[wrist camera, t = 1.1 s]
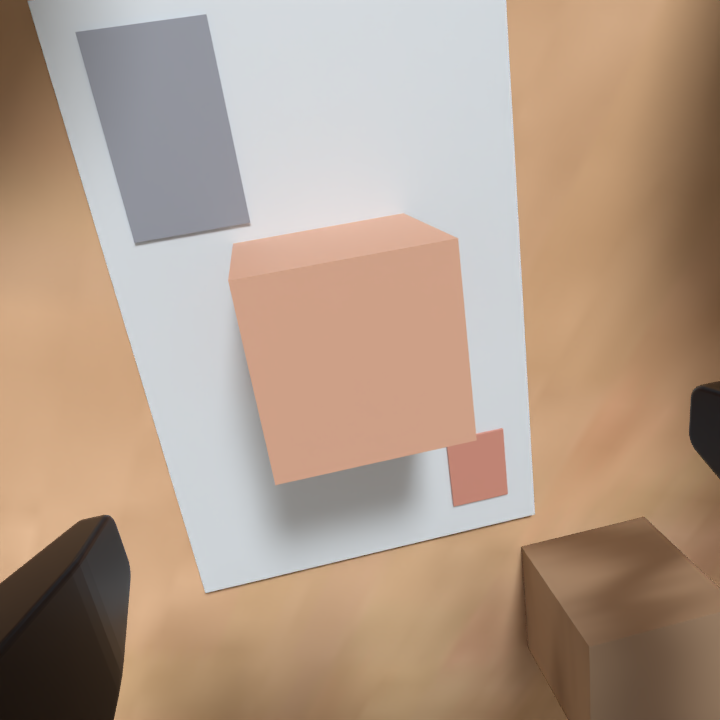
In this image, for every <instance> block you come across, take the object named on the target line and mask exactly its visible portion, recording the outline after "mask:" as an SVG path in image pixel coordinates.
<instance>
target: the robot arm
mask: <svg viewBox="0 0 720 720" xmlns="http://www.w3.org/2000/svg"><path fill="white" fill-rule="evenodd" d="M689 436H690V440H691V443H692V445H693V447H694V449H695V450H696V451H697V452H698V454H699V455H700V456H701V457H702V458H703V460H704V461H705V462H706V463H707V464H708V466H709V467H710V468H711V469H712V470H713V472H714V473H715V474H716V475H717V476H718V478H719V479H720V381H718V382H713V383H708V384H704V385H700V386H697V387H696V388H695V389H694V390H693V392H692V394H691V406H690V425H689ZM130 578H131V575H130V565H129V561H128V558H127V555H126V552H125V549H124V546H123V543H122V541H121V538H120V535H119V532H118V529H117V526H116V524H115V521H114V520H113V518H112V517H111V516H109V515H102V516H97V517H92V518H88V519H83V520H81V521H79V522H77V523H76V524H75V525H73V526H72V527H71V528H70V529H68V530H67V531H66V532H65V533H63V534H62V535H61V536H60V537H58V538H57V539H56V540H55V541H53V542H52V543H51V544H49V545H48V546H47V547H46V548H44V549H43V550H42V551H41V552H39V553H38V554H37V555H36V556H34V557H33V558H32V559H31V560H29V561H28V562H27V563H25V564H24V565H23V566H22V567H20V568H19V569H18V570H17V571H15V572H14V573H13V574H12V575H10V576H9V577H8V578H7V579H5V580H4V581H3V582H1V583H0V720H114V716H115V711H116V706H117V701H118V697H119V691H120V686H121V680H122V673H123V663H124V652H125V640H126V628H127V616H128V603H129V591H130Z"/></svg>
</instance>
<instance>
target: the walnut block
mask: <svg viewBox="0 0 720 720" xmlns="http://www.w3.org/2000/svg"><path fill="white" fill-rule="evenodd" d="M521 548H522V563H523V578H524V593H525V609H526V624H527V639H528V648H529V650H530V652H531V654H532V655H533V657H534V659H535V661H536V662H537V664H538V666H539V668H540V670H541V671H542V673H543V675H544V677H545V679H546V680H547V682H548V684H549V686H550V688H551V689H552V691H553V693H554V695H555V697H556V698H557V700H558V702H559V704H560V706H561V707H562V709H563V711H564V713H565V715H566V716H567V718H568V720H720V588H719V587H718V586H717V585H716V584H715V583H714V582H713V581H711V580H710V579H709V578H708V577H707V576H706V575H705V574H704V573H703V572H702V571H701V570H700V569H699V568H698V567H697V566H696V565H695V564H693V563H692V562H691V561H690V560H689V559H688V558H687V557H686V556H685V555H684V554H683V553H682V552H681V551H680V550H679V549H678V548H677V547H676V546H674V545H673V544H672V543H671V542H670V541H669V540H668V539H667V538H666V537H665V536H664V535H663V534H662V533H661V532H660V531H659V530H658V529H656V528H655V527H654V526H653V525H652V524H651V523H650V522H649V521H648V520H647V519H646V518H645V517H641V518H637V519H633V520H629V521H625V522H621V523H617V524H613V525H609V526H604V527H600V528H596V529H592V530H588V531H584V532H580V533H576V534H572V535H568V536H563V537H559V538H555V539H551V540H547V541H543V542H539V543H535V544H531V545H527V546H522V547H521Z"/></svg>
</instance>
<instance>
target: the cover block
mask: <svg viewBox="0 0 720 720" xmlns="http://www.w3.org/2000/svg"><path fill="white" fill-rule="evenodd" d="M228 282H229V287H230V291H231V295H232V300H233V304H234V308H235V313H236V317H237V321H238V326H239V330H240V334H241V339H242V343H243V347H244V352H245V356H246V360H247V365H248V369H249V373H250V378H251V382H252V386H253V390H254V395H255V399H256V403H257V408H258V412H259V416H260V421H261V425H262V429H263V434H264V438H265V442H266V447H267V451H268V455H269V460H270V464H271V468H272V473H273V477H274V481H275V485H279V484H283V483H288V482H292V481H297V480H301V479H306V478H310V477H315V476H319V475H324V474H328V473H333V472H337V471H342V470H346V469H351V468H355V467H360V466H364V465H368V464H373V463H377V462H382V461H386V460H391V459H395V458H400V457H404V456H409V455H413V454H418V453H422V452H427V451H431V450H436V449H440V448H445V447H449V446H454V445H458V444H463V443H467V442H472V441H476V440H477V438H476V427H475V416H474V406H473V395H472V384H471V373H470V362H469V351H468V340H467V329H466V318H465V308H464V297H463V286H462V275H461V264H460V253H459V242H458V238H456V237H454V236H452V235H450V234H448V233H446V232H443V231H441V230H439V229H437V228H435V227H432V226H430V225H428V224H426V223H424V222H422V221H419V220H417V219H415V218H413V217H411V216H408V215H406V214H404V213H402V214H396V215H391V216H385V217H379V218H374V219H368V220H363V221H357V222H351V223H346V224H340V225H335V226H329V227H323V228H318V229H312V230H306V231H301V232H295V233H290V234H284V235H278V236H273V237H267V238H262V239H256V240H250V241H245V242H239V243H233V247H232V255H231V263H230V270H229V278H228Z"/></svg>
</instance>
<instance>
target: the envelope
mask: <svg viewBox="0 0 720 720" xmlns="http://www.w3.org/2000/svg"><path fill="white" fill-rule="evenodd" d="M28 5H29V8H30V11H31V14H32V18H33V21H34V24H35V28H36V31H37V34H38V38H39V41H40V44H41V48H42V51H43V54H44V58H45V61H46V64H47V68H48V71H49V74H50V78H51V81H52V84H53V88H54V91H55V94H56V98H57V101H58V104H59V108H60V111H61V114H62V118H63V121H64V124H65V128H66V131H67V134H68V138H69V141H70V144H71V147H72V151H73V154H74V157H75V161H76V164H77V167H78V171H79V174H80V177H81V181H82V184H83V187H84V191H85V194H86V197H87V201H88V204H89V207H90V211H91V214H92V217H93V221H94V224H95V227H96V231H97V234H98V237H99V241H100V244H101V247H102V251H103V254H104V257H105V261H106V264H107V267H108V270H109V274H110V277H111V280H112V284H113V287H114V290H115V294H116V297H117V300H118V304H119V307H120V310H121V314H122V317H123V320H124V324H125V327H126V330H127V334H128V337H129V340H130V344H131V347H132V350H133V354H134V357H135V360H136V364H137V367H138V370H139V374H140V377H141V380H142V384H143V387H144V390H145V394H146V397H147V400H148V403H149V407H150V410H151V413H152V417H153V420H154V423H155V427H156V430H157V433H158V437H159V440H160V443H161V447H162V450H163V453H164V457H165V460H166V463H167V467H168V470H169V473H170V477H171V480H172V483H173V487H174V490H175V493H176V497H177V500H178V503H179V507H180V510H181V513H182V517H183V520H184V523H185V526H186V530H187V533H188V536H189V540H190V543H191V546H192V550H193V553H194V556H195V560H196V563H197V566H198V570H199V573H200V576H201V580H202V583H203V586H204V590H205V593H208V592H212V591H216V590H221V589H225V588H229V587H233V586H237V585H241V584H246V583H250V582H254V581H258V580H262V579H267V578H271V577H275V576H279V575H283V574H287V573H292V572H296V571H300V570H304V569H308V568H313V567H317V566H321V565H325V564H329V563H333V562H338V561H342V560H346V559H350V558H354V557H359V556H363V555H367V554H371V553H375V552H379V551H384V550H388V549H392V548H396V547H400V546H405V545H409V544H413V543H417V542H421V541H425V540H430V539H434V538H438V537H442V536H446V535H451V534H455V533H459V532H463V531H467V530H471V529H476V528H480V527H484V526H488V525H492V524H497V523H501V522H505V521H509V520H513V519H517V518H522V517H526V516H530V515H534V514H535V507H534V489H533V471H532V454H531V436H530V418H529V400H528V383H527V365H526V347H525V329H524V311H523V294H522V276H521V258H520V240H519V223H518V205H517V187H516V169H515V151H514V134H513V116H512V98H511V80H510V62H509V45H508V27H507V9H506V0H31V1H28ZM402 213H404V214H406V215H408V216H411V217H413V218H415V219H417V220H419V221H422V222H424V223H426V224H428V225H430V226H432V227H435V228H437V229H439V230H441V231H443V232H446V233H448V234H450V235H452V236H454V237H456V238H458V242H459V253H460V264H461V275H462V286H463V297H464V308H465V318H466V329H467V340H468V351H469V362H470V373H471V384H472V395H473V406H474V416H475V427H476V438H477V440H476V441H472V442H467V443H463V444H458V445H454V446H449V447H445V448H440V449H436V450H431V451H427V452H422V453H418V454H413V455H409V456H404V457H400V458H395V459H391V460H386V461H382V462H377V463H373V464H368V465H364V466H360V467H355V468H351V469H346V470H342V471H337V472H333V473H328V474H324V475H319V476H315V477H310V478H306V479H301V480H297V481H292V482H288V483H283V484H279V485H275V481H274V477H273V473H272V468H271V464H270V460H269V455H268V451H267V447H266V442H265V438H264V434H263V429H262V425H261V421H260V416H259V412H258V408H257V403H256V399H255V395H254V390H253V386H252V382H251V378H250V373H249V369H248V365H247V360H246V356H245V352H244V347H243V343H242V339H241V334H240V330H239V326H238V321H237V317H236V313H235V308H234V304H233V300H232V295H231V291H230V287H229V282H228V278H229V270H230V263H231V255H232V247H233V243H239V242H245V241H250V240H256V239H262V238H267V237H273V236H278V235H284V234H290V233H295V232H301V231H306V230H312V229H318V228H323V227H329V226H335V225H340V224H346V223H351V222H357V221H363V220H368V219H374V218H379V217H385V216H391V215H396V214H402Z"/></svg>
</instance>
